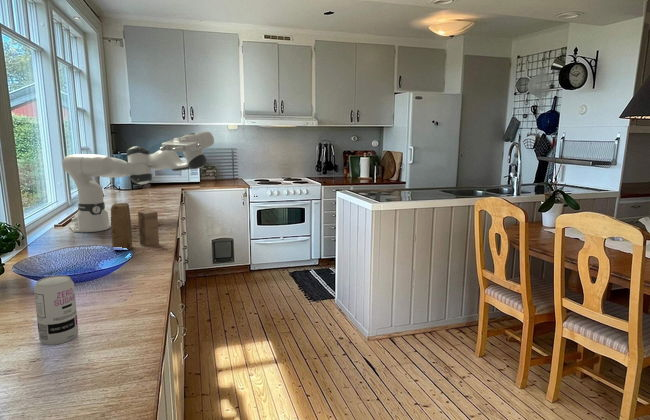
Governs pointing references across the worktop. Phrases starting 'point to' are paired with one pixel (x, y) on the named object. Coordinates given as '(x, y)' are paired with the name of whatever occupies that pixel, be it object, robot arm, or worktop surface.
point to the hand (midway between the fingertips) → (167, 149)
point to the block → (121, 226)
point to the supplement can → (56, 310)
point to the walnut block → (148, 228)
